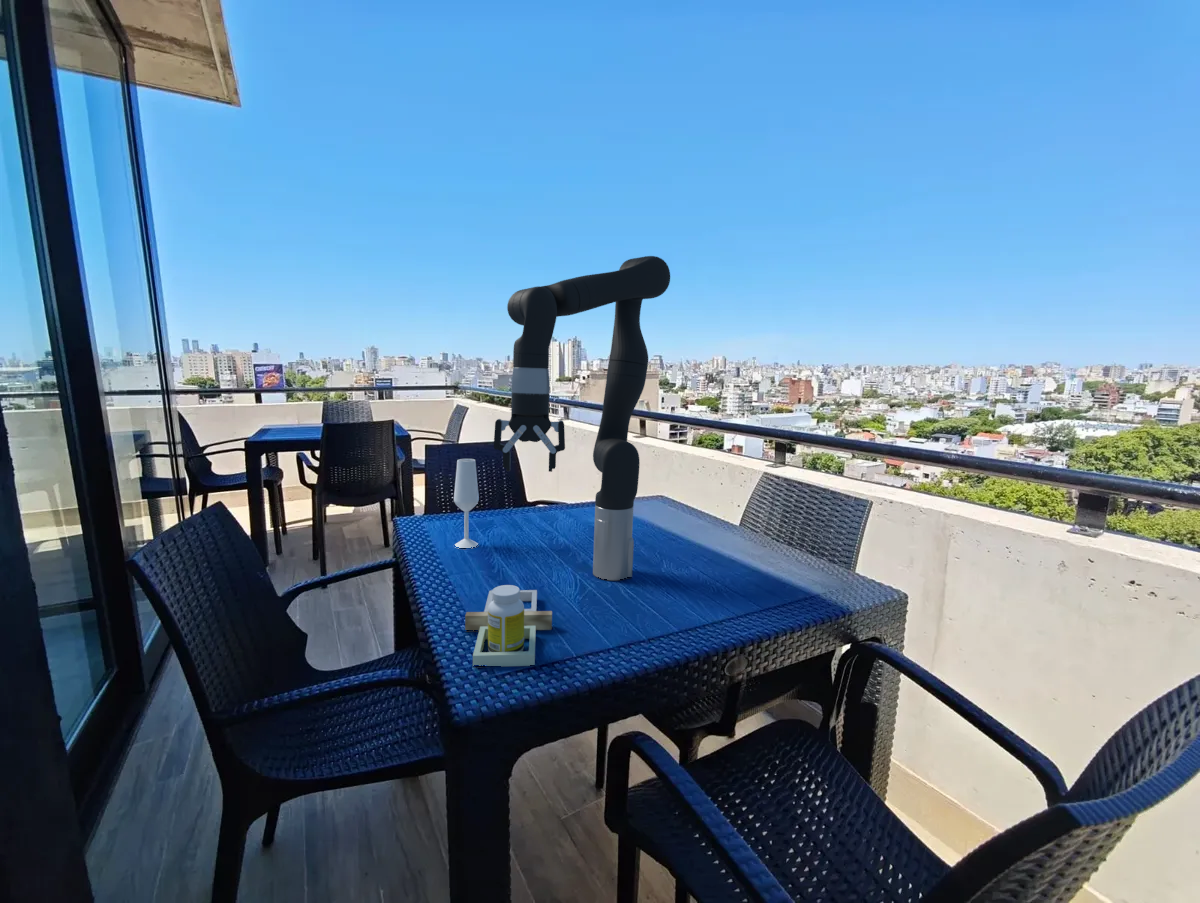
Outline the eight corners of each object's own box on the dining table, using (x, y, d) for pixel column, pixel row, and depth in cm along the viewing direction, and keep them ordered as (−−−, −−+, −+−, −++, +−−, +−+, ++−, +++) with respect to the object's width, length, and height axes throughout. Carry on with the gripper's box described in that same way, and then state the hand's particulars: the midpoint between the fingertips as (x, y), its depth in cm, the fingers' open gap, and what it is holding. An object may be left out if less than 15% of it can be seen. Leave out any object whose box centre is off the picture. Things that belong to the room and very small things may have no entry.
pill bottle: (525, 641, 93) (526, 583, 92) (521, 660, 87) (522, 597, 86) (491, 641, 93) (491, 582, 92) (484, 659, 87) (484, 597, 85)
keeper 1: (536, 598, 111) (537, 590, 111) (536, 620, 101) (536, 610, 101) (489, 599, 110) (489, 590, 110) (484, 621, 100) (484, 611, 100)
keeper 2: (535, 635, 96) (535, 625, 95) (534, 665, 86) (534, 654, 85) (480, 636, 94) (480, 626, 94) (472, 667, 85) (472, 655, 84)
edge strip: (551, 625, 100) (551, 610, 99) (551, 629, 98) (552, 614, 98) (466, 627, 98) (466, 612, 97) (465, 631, 96) (465, 616, 96)
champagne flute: (472, 550, 141) (472, 462, 137) (449, 547, 142) (448, 461, 139) (482, 542, 147) (483, 459, 144) (460, 540, 148) (460, 457, 145)
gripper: (565, 391, 108) (563, 468, 111) (496, 389, 107) (495, 467, 109) (567, 393, 101) (564, 474, 103) (492, 390, 99) (492, 473, 102)
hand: (529, 470), depth 106 cm, fingers open, 8 cm apart
